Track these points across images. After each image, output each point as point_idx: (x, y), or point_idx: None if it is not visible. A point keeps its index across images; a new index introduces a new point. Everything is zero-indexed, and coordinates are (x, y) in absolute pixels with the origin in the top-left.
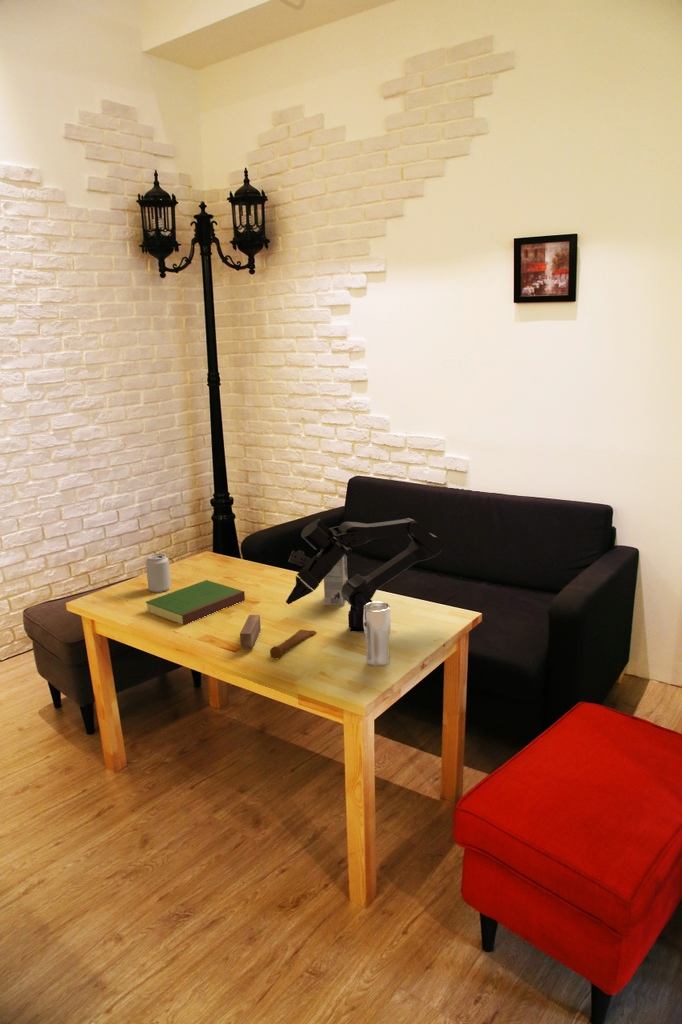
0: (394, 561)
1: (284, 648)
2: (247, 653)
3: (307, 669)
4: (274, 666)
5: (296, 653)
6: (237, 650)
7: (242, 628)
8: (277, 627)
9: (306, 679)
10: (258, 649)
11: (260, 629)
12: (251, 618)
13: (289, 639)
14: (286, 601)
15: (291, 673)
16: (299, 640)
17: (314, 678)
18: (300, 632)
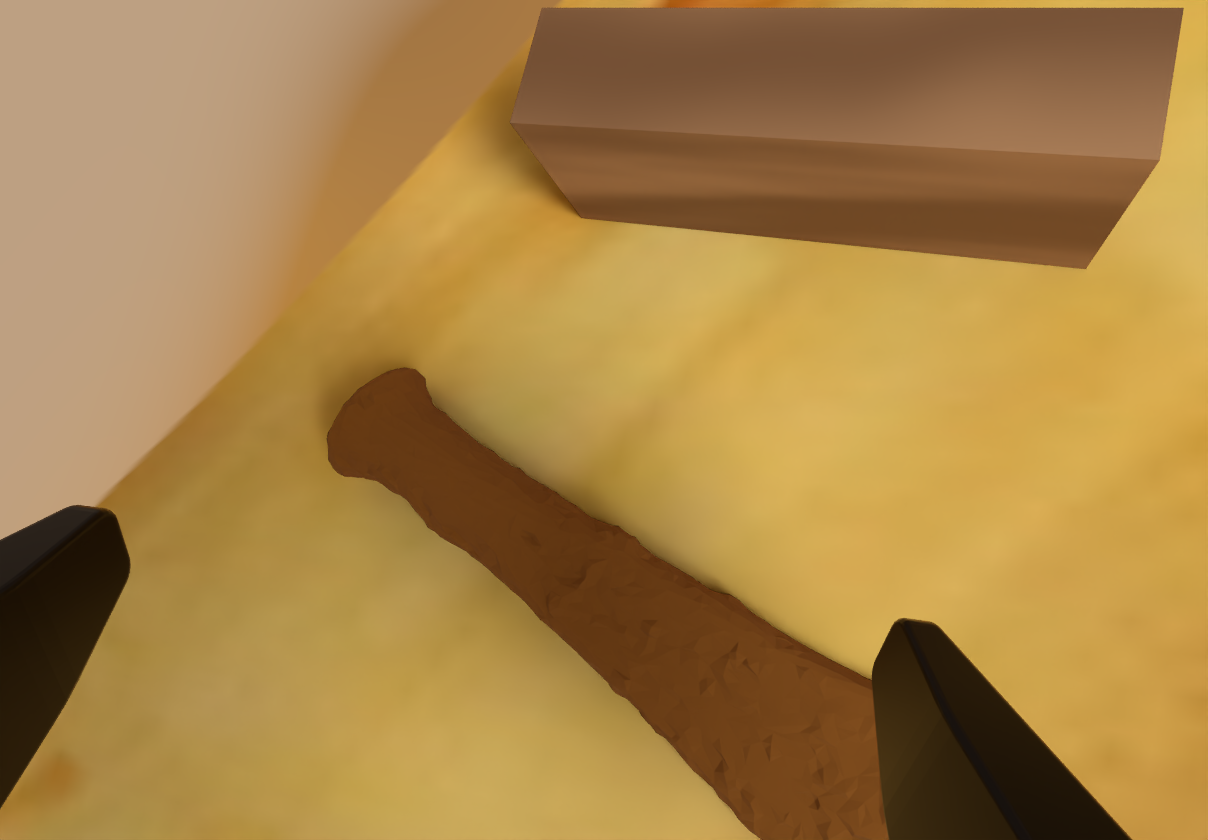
0: None
1: (411, 505)
2: (542, 184)
3: (140, 670)
4: (263, 412)
5: (423, 621)
6: None
7: (678, 8)
8: (1189, 474)
9: None
10: (597, 272)
11: (1077, 257)
12: (1011, 61)
13: (613, 578)
14: (69, 519)
15: (129, 536)
16: (625, 694)
17: None
18: None
